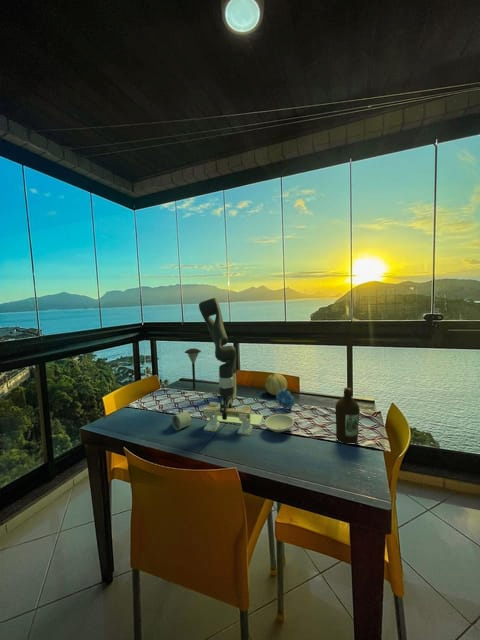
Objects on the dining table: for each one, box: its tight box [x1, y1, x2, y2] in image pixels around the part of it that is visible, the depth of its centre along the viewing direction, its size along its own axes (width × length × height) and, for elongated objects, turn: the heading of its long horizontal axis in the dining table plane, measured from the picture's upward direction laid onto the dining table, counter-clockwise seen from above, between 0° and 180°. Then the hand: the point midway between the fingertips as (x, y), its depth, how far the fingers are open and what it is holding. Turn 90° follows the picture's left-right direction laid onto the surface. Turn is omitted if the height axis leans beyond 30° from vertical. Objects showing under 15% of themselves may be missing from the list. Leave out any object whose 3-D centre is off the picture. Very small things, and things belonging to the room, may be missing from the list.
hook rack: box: [203, 401, 254, 436], centre depth 146 cm, size 8×24×12 cm, turn 75°
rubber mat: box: [205, 413, 264, 426], centre depth 158 cm, size 12×30×1 cm, turn 75°
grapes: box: [275, 389, 295, 410], centre depth 168 cm, size 12×7×12 cm, turn 60°
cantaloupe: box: [265, 372, 288, 396], centre depth 193 cm, size 15×15×15 cm
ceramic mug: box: [171, 411, 192, 431], centre depth 150 cm, size 11×8×8 cm
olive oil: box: [334, 387, 361, 444], centre depth 132 cm, size 11×11×25 cm
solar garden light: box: [184, 347, 202, 391], centre depth 205 cm, size 12×12×30 cm
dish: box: [263, 413, 295, 433], centre depth 143 cm, size 18×14×5 cm
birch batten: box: [203, 406, 252, 419], centre depth 144 cm, size 3×24×3 cm, turn 75°
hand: (227, 415), depth 144 cm, fingers open, 8 cm apart
